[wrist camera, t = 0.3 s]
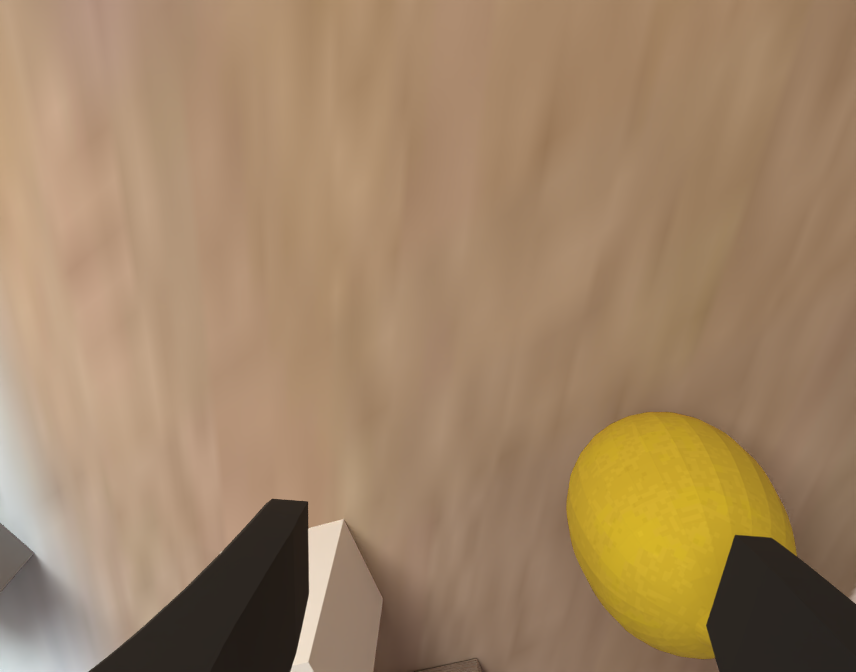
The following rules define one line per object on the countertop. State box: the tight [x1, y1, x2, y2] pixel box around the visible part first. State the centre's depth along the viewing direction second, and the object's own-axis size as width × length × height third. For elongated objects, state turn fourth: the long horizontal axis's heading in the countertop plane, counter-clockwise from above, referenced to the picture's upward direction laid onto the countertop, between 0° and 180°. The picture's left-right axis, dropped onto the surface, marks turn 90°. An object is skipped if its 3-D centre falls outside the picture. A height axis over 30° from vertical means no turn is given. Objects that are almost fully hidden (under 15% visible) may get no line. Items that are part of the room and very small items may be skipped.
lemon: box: [566, 412, 797, 659], centre depth 17 cm, size 6×6×8 cm
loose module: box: [220, 519, 383, 672], centre depth 21 cm, size 4×5×6 cm
